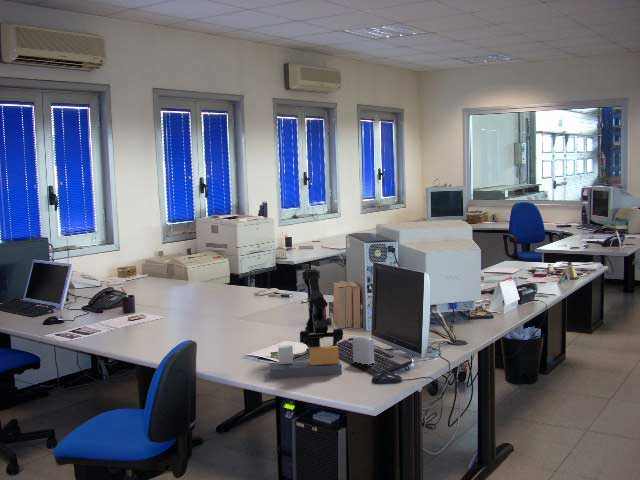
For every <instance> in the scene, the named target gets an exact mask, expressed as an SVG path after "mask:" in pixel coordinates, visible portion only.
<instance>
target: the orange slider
mask: <svg viewBox="0 0 640 480" xmlns="http://www.w3.org/2000/svg"><path fill="white" fill-rule="evenodd" d="M309 351H310V352H309ZM309 351H308V352H309V360H310V365H322V364H337V363H339V361H340V359H339V346H338V345H336V346H333V345H325V346H323V345H321V346H320V347H309Z"/></svg>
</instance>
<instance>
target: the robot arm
mask: <svg viewBox="0 0 640 480" xmlns="http://www.w3.org/2000/svg"><path fill="white" fill-rule="evenodd" d="M301 279H302V280H303V282H302V283H303V284H304V286H305V287H306V289H307V290H306V291H307V293H306V294H307V305H308V306H307V307H308V319H307V322H306V323H305V327H304V330H300V331H299V343H300V344H303V345H306V347H307V348H305V350H306V351H307V352H309V353H310V351H309V347H321V339H324V338H332V346H337V344H338V343H339V342H340V341H342V340H343V337H344V330H343V329H342V328H333V329H332V331H331V332H330V331H329V326H332V317H327V318H326V312H327V306H328V307H329V303H328V302H327V300H326V299H325V297H324V293H322V292H321V290H320V285H319V279H321V271H320V270H317V268H312V269H311V268H310V269H309V268H307V269H303V271H301ZM328 331H329V332H328Z"/></svg>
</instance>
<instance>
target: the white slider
mask: <svg viewBox="0 0 640 480" xmlns="http://www.w3.org/2000/svg"><path fill="white" fill-rule="evenodd" d="M277 350H278V351H277V352H278V363H279V364H289V363H293V361H294V352H293V351H294V349H293V345H279V346H278V347H277Z"/></svg>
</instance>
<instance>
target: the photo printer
mask: <svg viewBox="0 0 640 480" xmlns="http://www.w3.org/2000/svg"><path fill="white" fill-rule="evenodd" d="M374 343H375V342H374V340H373V339H372V338H370V337H368V336H365V335H358V336H354V337H353V338H352V354H353V357H352V359H353V361H352V362H353V363H355V362H357V363H356V364H359V363H361V365H364V364H368V365H367V366H370V365H369V364H372V363H374V364H375V347H374Z"/></svg>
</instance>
